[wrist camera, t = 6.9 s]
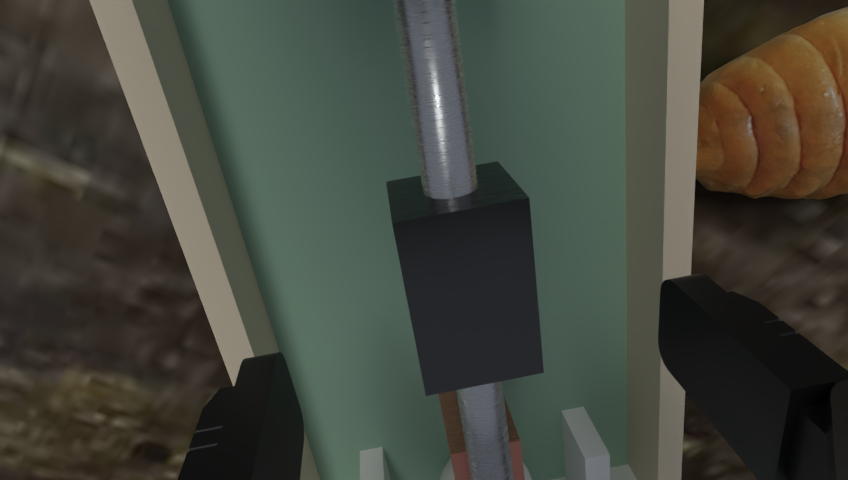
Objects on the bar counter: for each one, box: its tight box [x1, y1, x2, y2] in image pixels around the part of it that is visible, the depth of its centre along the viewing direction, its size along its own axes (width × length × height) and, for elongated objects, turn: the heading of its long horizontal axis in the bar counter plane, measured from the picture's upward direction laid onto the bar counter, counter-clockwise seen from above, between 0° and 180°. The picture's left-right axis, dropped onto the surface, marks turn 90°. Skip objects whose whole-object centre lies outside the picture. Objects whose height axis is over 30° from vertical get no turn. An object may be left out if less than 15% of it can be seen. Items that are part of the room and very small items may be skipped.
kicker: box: [386, 0, 544, 480], centre depth 17 cm, size 24×3×6 cm, turn 9°
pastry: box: [695, 7, 848, 200], centre depth 20 cm, size 9×7×4 cm
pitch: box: [90, 0, 704, 480], centre depth 18 cm, size 27×16×8 cm, turn 9°
